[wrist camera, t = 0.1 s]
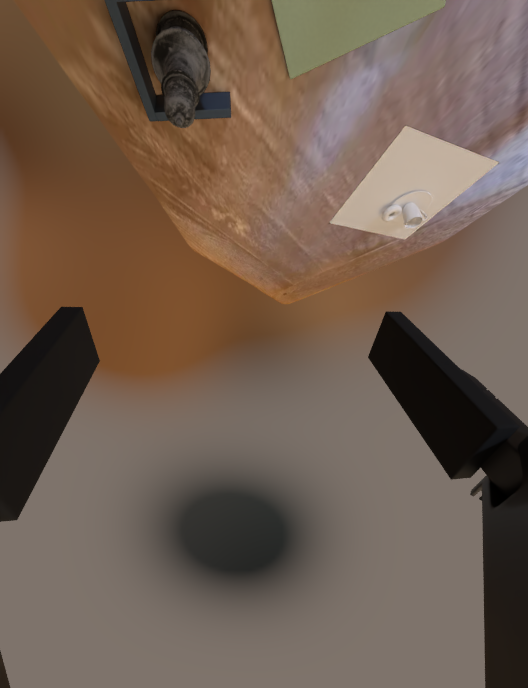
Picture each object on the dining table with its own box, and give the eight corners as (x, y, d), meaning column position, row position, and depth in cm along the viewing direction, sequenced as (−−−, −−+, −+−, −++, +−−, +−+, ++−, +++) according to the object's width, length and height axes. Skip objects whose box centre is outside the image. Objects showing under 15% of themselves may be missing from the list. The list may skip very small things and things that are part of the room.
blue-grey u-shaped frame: (102, -34, 25) (98, -15, 24) (215, -39, 25) (216, -20, 24) (151, 104, 35) (149, 121, 35) (230, 100, 36) (231, 117, 35)
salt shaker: (210, 81, 34) (211, 157, 30) (158, 74, 32) (152, 151, 29) (209, 12, 28) (210, 94, 24) (147, 0, 27) (138, 84, 23)
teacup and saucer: (374, 215, 56) (378, 232, 55) (405, 183, 49) (410, 202, 48) (408, 223, 59) (412, 240, 58) (442, 194, 52) (447, 212, 51)
